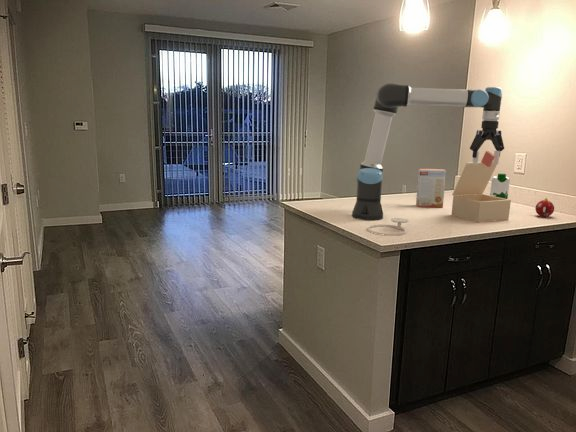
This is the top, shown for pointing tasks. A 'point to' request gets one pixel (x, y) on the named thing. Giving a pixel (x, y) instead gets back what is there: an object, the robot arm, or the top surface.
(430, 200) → the cracker box
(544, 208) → the christmas ornament
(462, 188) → the lid flap
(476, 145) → the robot arm
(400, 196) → the top surface
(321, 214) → the top surface
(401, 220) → the hand towel holder
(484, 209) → the carton
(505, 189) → the milk carton
